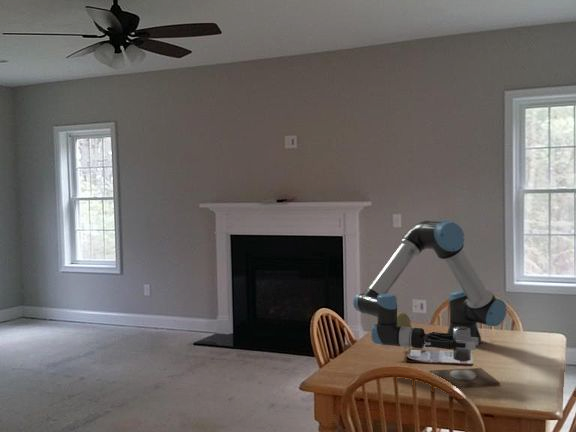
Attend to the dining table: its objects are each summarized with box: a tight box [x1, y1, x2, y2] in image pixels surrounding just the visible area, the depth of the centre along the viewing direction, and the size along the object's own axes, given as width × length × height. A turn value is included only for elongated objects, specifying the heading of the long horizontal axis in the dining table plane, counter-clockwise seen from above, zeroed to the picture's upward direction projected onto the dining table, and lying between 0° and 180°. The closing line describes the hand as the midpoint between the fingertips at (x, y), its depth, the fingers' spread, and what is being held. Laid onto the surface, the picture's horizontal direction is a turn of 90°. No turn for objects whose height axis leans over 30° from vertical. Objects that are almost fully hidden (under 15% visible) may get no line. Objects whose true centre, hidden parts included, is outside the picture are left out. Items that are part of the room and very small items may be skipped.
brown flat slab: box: [428, 367, 500, 389], centre depth 201 cm, size 20×16×2 cm
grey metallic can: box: [452, 326, 472, 362], centre depth 200 cm, size 6×6×11 cm
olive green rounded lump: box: [397, 311, 413, 328], centre depth 268 cm, size 10×12×11 cm
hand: (476, 343), depth 198 cm, fingers closed on grey metallic can, 6 cm apart
